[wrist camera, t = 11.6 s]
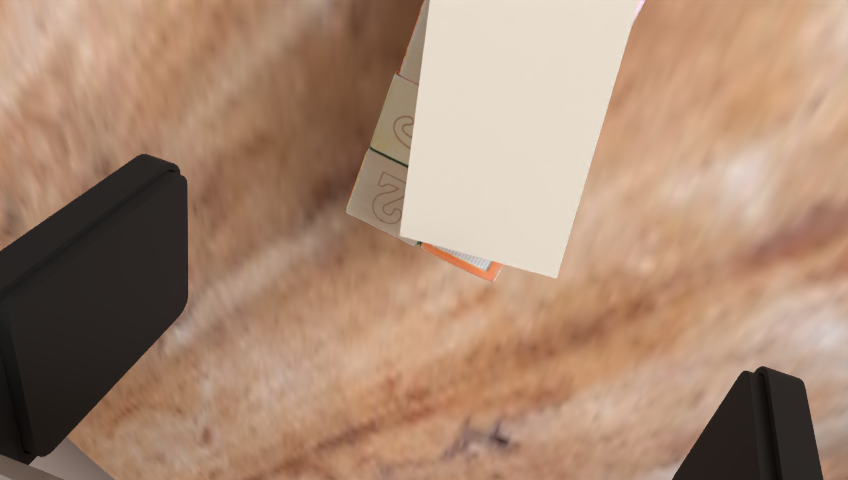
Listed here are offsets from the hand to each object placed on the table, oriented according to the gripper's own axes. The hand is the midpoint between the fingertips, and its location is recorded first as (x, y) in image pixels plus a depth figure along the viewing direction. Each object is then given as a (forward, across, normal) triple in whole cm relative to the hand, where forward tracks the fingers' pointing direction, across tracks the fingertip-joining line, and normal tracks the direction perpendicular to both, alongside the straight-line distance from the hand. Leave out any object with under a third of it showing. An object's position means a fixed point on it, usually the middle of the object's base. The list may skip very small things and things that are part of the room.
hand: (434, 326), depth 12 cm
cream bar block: (+12, +1, -1) cm, 12 cm away
